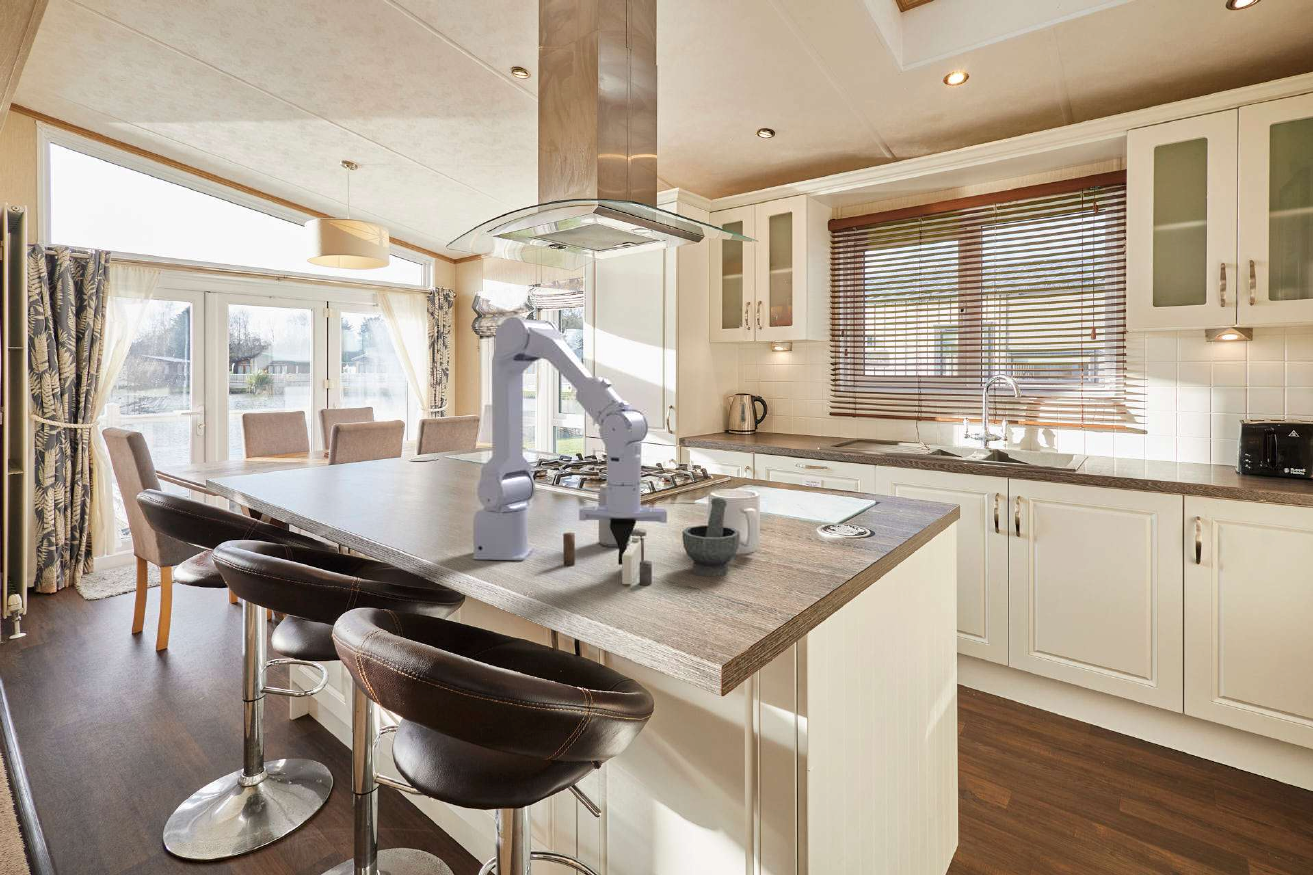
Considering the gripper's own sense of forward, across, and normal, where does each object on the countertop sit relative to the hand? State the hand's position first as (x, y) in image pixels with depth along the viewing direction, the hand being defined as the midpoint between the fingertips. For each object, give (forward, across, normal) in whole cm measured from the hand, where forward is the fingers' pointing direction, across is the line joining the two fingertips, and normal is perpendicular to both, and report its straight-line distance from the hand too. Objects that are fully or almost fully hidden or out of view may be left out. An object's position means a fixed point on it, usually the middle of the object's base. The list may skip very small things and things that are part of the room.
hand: (623, 562), depth 107 cm
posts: (+2, +3, -2) cm, 4 cm away
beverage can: (+3, +4, -21) cm, 21 cm away
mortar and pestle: (+2, -15, -6) cm, 16 cm away
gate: (+2, -2, -2) cm, 3 cm away
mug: (+2, -20, -20) cm, 28 cm away
